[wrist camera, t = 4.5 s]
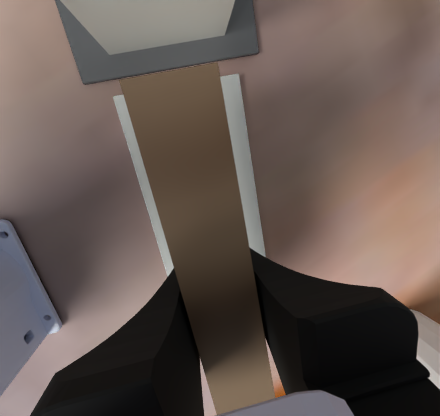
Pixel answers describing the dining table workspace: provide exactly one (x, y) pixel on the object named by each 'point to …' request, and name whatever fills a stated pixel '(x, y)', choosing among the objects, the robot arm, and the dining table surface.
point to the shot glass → (429, 346)
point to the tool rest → (242, 164)
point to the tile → (150, 21)
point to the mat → (159, 48)
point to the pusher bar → (203, 225)
